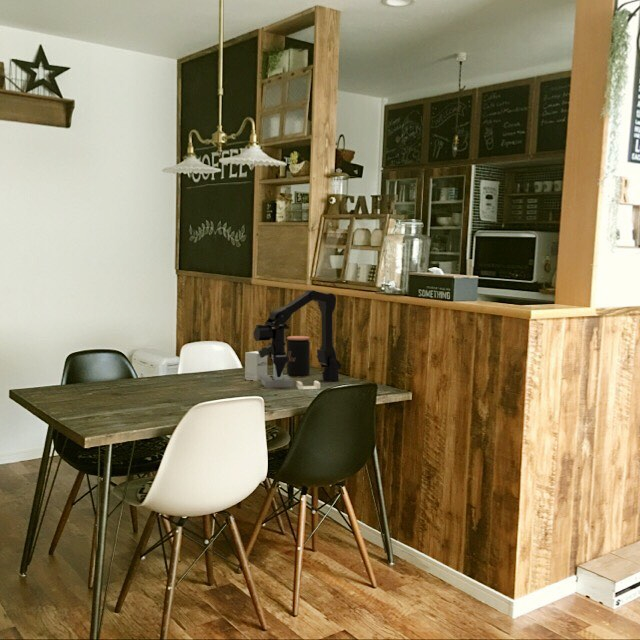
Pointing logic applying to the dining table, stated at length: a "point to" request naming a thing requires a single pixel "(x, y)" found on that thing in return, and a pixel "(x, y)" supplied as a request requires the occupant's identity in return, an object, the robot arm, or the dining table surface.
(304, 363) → the coffee jar
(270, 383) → the port panel
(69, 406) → the dining table surface
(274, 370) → the plug
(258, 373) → the supplement box
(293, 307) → the robot arm
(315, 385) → the holster
